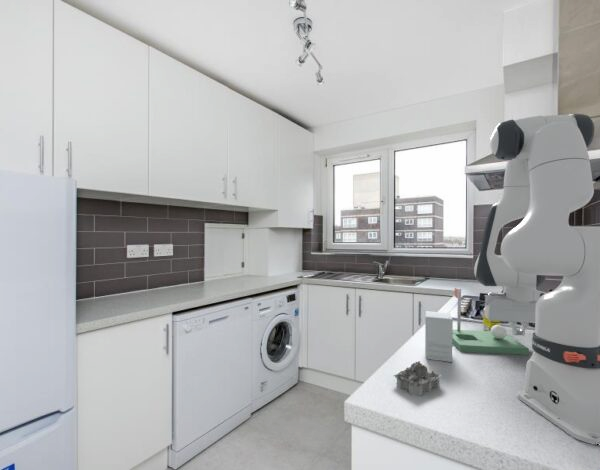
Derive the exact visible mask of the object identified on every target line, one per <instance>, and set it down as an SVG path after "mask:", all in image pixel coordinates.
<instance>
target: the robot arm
mask: <svg viewBox="0 0 600 470" xmlns="http://www.w3.org/2000/svg"><path fill="white" fill-rule="evenodd" d="M594 137H595V123H594V121H593V119H592V118H591V117H590V116H589V115H587V114H584V113H582V114H581V113H568V114H554V115H553V114H552V115H550V114H549V115H536V116H530V117H524V118H518V119H515V120H514V119H509V120H504V121H502V122H499V123H498V124H497V125H496V126H495V128H494V129H493V131H492V135H491V137H490V140H489V142H490V144H489V145H490V149H491V152H492V155H493V156H494V157H495V158H496V159H498V160H503V161H507V162H506V166H505V171H504V175H503V176H504V177H503V191H502V194H501V197H500V199H499V200H498V202H496V203H493V204H491V207H490V209H489V212H488V215H487V219H486V222H485V227H484V231H483V235H482V239H481V244H480V248H479V249H480V250H479V254H478V256H477V258H476V261H475V263H474V268H473V273H474V276H475V280H476V281H477V282H479V283H480V284H481V285H482V286H483V287H497V286H499V287H502V288H503V289H502V290H503V292H494V291H493V292H489V293H487V294H486V295H485V297H484V302H485V306H484V308H485V312H484V315H485V317H486V318H487V319H488V320H490V321H500V322H508V324H509V326H510V328H511V330H512V331H511V334H512V335H513V336H519V337H520V336H521V337H525V335H526V333H525V332H526V330H527V329H528V328H529V326H530V324H529V323H531V324H534V332H533V333H532V337H531V348H532V350H533V352H532V355H531V356H530V357H529V359H528V360H527V362H526V365H525V374H524V379H523V389H522V390H520V391H518V393H517V399H518V400H520V401H522V402H523V403H524V404H526V405H527V406H528V407H530V408H531V409H532V410H534V411H535V412H537V413H538V414H540V415H541V416H542V417H544V418H545V419H547V420H548V421H550V422H551V423H552V424H554V425H555V426H557V427H558V428H559V429H561V430H562V431H564V432H566V433H567V434H568V435H570V436H571V437H573V438H575V439H577V440H579V441H581V442H585V443H588V444H592V445H595V444H596V445H597V444H600V226H594V225H593V226H591V225H590V226H587V225H585V226H582V225H580V226H578V225H577V226H574V225H573V226H572V225H570V223H569V219H570V214H571V213H574V212H575V211H577V210H579V209H582V207H585V206H586V205H587V204H589V202H591V199H592V198H593V196H594V194H595V190H594V189H595V188H594V182H593V175H592V174H593V173H592V168H591V162H590V161H591V160H590V156H589V151H588V148H589V147H590V146H591V144H592V143H593V139H594ZM520 219H522V220H521V221H520V223H519V224H518V225H516V226H515V227H514V228H512V229H511V230H509V231H508V232H507V233H506V234H505V236H504V237H503V239H502V241H501V244H500V254H499V255H498V254H496V253H495V250H496V247H497V242H498V238H499V233H500V231H501V229H502V228H503V227H504V226H506V225H507V224H509V223H511V222H513V221H516V220H520ZM546 276H556V277H557V276H561V277H562V280H561V282H560V284H558V285H557V286H556V287H555V288H554V289H553V290H552V291H548V292H545V291H542V290H540V289H537V288H539V287H541V286H542V285H543V284H545V283H546ZM517 323H520V324H521V326H520V327H519V328H517ZM597 446H598V445H597Z"/></svg>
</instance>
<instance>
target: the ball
mask: <svg viewBox="0 0 600 470" xmlns="http://www.w3.org/2000/svg"><path fill="white" fill-rule="evenodd" d="M491 334H492V336H493V337H495V338H496V339H503V338H505V336H506V334H507V330H506V328H505V327H504V326H502V325H501V324H500V325H495V326H493V327H492V328H491ZM507 335H508V334H507Z"/></svg>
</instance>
